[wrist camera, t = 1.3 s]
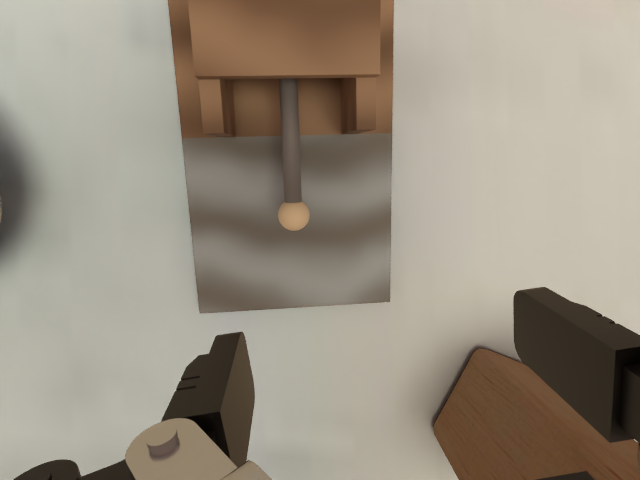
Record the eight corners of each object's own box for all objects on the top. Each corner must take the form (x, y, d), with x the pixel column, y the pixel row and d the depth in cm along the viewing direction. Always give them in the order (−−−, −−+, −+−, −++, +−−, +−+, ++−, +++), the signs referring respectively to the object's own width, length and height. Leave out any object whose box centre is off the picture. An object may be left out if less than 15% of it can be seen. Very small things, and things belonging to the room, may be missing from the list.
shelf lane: (168, -42, 28) (117, -129, 19) (388, -39, 30) (433, -119, 21) (203, 306, 34) (175, 360, 25) (385, 295, 35) (419, 342, 27)
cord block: (238, -35, 27) (228, -77, 22) (324, -34, 28) (333, -74, 23) (255, 222, 31) (249, 235, 26) (330, 219, 32) (339, 231, 27)
